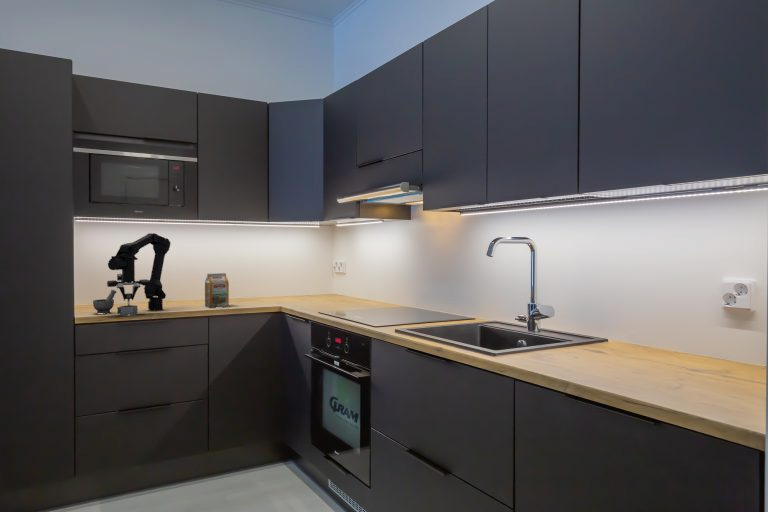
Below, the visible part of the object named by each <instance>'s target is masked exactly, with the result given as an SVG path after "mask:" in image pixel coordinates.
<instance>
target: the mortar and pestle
mask: <svg viewBox="0 0 768 512" xmlns="http://www.w3.org/2000/svg"><path fill="white" fill-rule="evenodd" d="M116 294H117V290H115V289H111V290H110V293H109V294H108V296H107V297H106V298H102V299H101V298H100V299H94V300H93V299H92V305H93V308H94V309H95V310H96V314H97V313H110V314H111V310H112V309H113V307H114V305H115V304H114V303H115V299H114V297H115V295H116Z"/></svg>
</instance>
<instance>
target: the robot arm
mask: <svg viewBox="0 0 768 512" xmlns="http://www.w3.org/2000/svg"><path fill="white" fill-rule="evenodd" d="M147 245H152V249H153V253H154V258H153V262H152V263H153V264H152V266H151V267H152V268H151V273H150V279H145V278H144V279H139V280H136V278H135V275H136V274H135V271H136V269H135V268H136V267H135V262H136V261H137V260H138V259H139V258H137V256H136V255H137V254H138V253H140V250H141V249H142V248H145V247H146V246H147ZM170 247H171V241H170V239H168V238H166V237H164V236H161V235H158V234H157V233H154V232H153V233H152V232H151V233H150V232H149V233H147V234H145V235H144V236H141V237H140V238H138V239H136V240H134V241H133V242H126V243H122V244H121V245H120V246H119V248H118V251H117V253H116V254H115V255H112V256H111V258H110V259H109V260H108V262H107V266H108V269H109V270H111V271H121V273H117V274H116V280H114V279H113V280H107V281H106V286H107V287H108V288H114V287H116V289H119V291H120V293H121V295H122V299H123V301H126V299H125V294H126V292H125V286H127V285H128V286H132V292H131V293H132V299H131V300H132V301H134V299H135V296H136V293H137V291H138V290H139V288H141V287H144V288H143V291H144V292H143V293H144V296H145V298H146V299H148V301H147V310H148V311H150V310H155V311H164V307H163V305H164V304H163V300H165V299H166V298H167V297H166V296H167V294H166V293H165V292H164V290H163V284H162V282H161V278H162V272H163V267H164V262H165V261H164V260H165V257H166V255H167V253H168V252H169V251H170ZM146 299H145V300H146Z"/></svg>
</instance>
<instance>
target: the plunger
mask: <svg viewBox="0 0 768 512" xmlns="http://www.w3.org/2000/svg"><path fill="white" fill-rule="evenodd" d="M125 300H127V305H128V307H130V300H132V292H130V293H129V292H128V293H125Z"/></svg>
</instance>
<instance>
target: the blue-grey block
mask: <svg viewBox="0 0 768 512" xmlns="http://www.w3.org/2000/svg"><path fill="white" fill-rule="evenodd" d="M116 309H117V310H116V311H117V314H118V315H120V316H119V317H133V316H138V314H139V312H138V305H135V304H134V305H133V304H131V305H130V307H128V304H127V305H121V306H117V308H116Z"/></svg>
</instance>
